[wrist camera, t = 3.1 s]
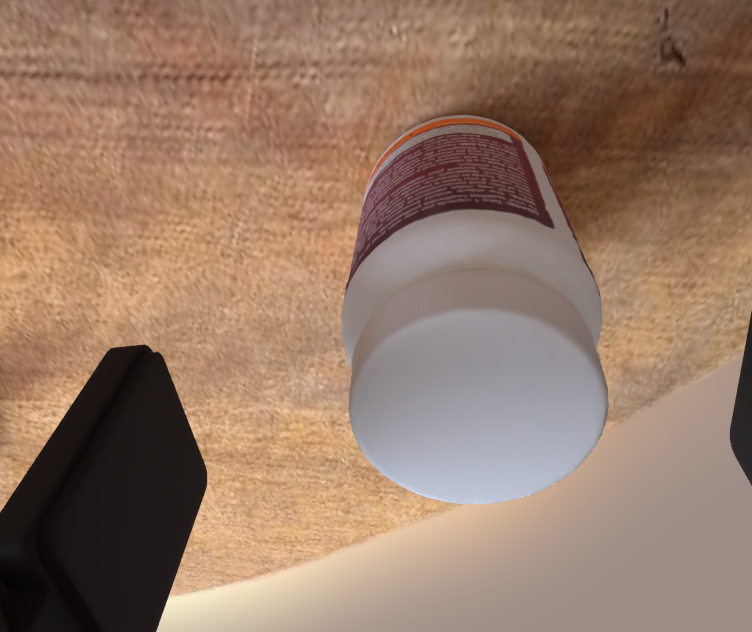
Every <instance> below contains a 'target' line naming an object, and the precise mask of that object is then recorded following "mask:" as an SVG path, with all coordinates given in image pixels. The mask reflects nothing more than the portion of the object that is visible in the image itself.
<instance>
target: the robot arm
mask: <svg viewBox="0 0 752 632" xmlns="http://www.w3.org/2000/svg"><path fill="white" fill-rule="evenodd" d="M730 442H731V446H732V450H733V452H734V454H735V456H736V458H737V460H738V462H739V464H740V465H741V467H742V469H743V471H744V472H745V474H746V476H747V477H748V480H749V481H750V483H751V485H752V312H751V318H750V323H749V329H748V334H747V340H746V345H745V351H744V356H743V362H742V367H741V373H740V378H739V384H738V389H737V395H736V400H735V406H734V411H733V416H732V422H731V427H730ZM206 487H207V470H206V466H205V464H204V461H203V458H202V456H201V453H200V451H199V448H198V446H197V443H196V440H195V438H194V435H193V433H192V430H191V428H190V425H189V422H188V420H187V417H186V415H185V412H184V410H183V407H182V404H181V402H180V399H179V397H178V394H177V391H176V389H175V386H174V384H173V381H172V379H171V376H170V373H169V371H168V368H167V366H166V363H165V361H164V358H163V357H162V355H161V354H160V353H158V352H154V353H153V351H152V350H151V349H150V348H149V346H146V345H137V346H126V347H115V348H111V349H110V350H109V351H108V352H107V353H106V354H105V356H104V357H103V359H102V360H101V362H100V363H99V365H98V366H97V368H96V369H95V371H94V372H93V374H92V375H91V377H90V378H89V380H88V381H87V383H86V384H85V386H84V387H83V389H82V390H81V392H80V393H79V395H78V396H77V398H76V400H75V401H74V403H73V404H72V406H71V407H70V409H69V410H68V412H67V413H66V415H65V416H64V418H63V419H62V421H61V422H60V424H59V425H58V427H57V428H56V430H55V431H54V433H53V434H52V436H51V437H50V439H49V440H48V442H47V443H46V445H45V446H44V448H43V449H42V451H41V452H40V454H39V455H38V457H37V458H36V460H35V461H34V463H33V464H32V466H31V467H30V469H29V470H28V472H27V473H26V475H25V476H24V478H23V479H22V481H21V482H20V484H19V485H18V487H17V488H16V490H15V491H14V493H13V494H12V496H11V497H10V499H9V500H8V502H7V503H6V505H5V506H4V508H3V509H2V511H1V512H0V632H156V630H157V628H158V625H159V622H160V619H161V616H162V613H163V611H164V607H165V605H166V602H167V599H168V596H169V593H170V591H171V588H172V585H173V582H174V579H175V576H176V573H177V570H178V568H179V565H180V562H181V559H182V556H183V553H184V550H185V548H186V545H187V542H188V539H189V536H190V533H191V530H192V528H193V525H194V522H195V519H196V516H197V513H198V510H199V508H200V505H201V502H202V499H203V496H204V493H205V490H206Z"/></svg>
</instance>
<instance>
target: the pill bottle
mask: <svg viewBox="0 0 752 632" xmlns="http://www.w3.org/2000/svg"><path fill="white" fill-rule="evenodd" d="M601 321H602V311H601V298H600V293H599V289H598V287H597V284H596V281H595V278H594V276H593V273H592V271H591V270H590V268H589V266H588V264H587V262H586V260H585V258H584V255H583V253H582V251H581V249H580V246H579V243H578V241H577V238H576V236H575V234H574V231H573V229H572V227H571V225H570V222H569V220H568V218H567V215H566V213H565V210H564V208H563V206H562V204H561V201H560V199H559V197H558V195H557V192H556V190H555V188H554V186H553V184H552V181H551V178H550V175H549V174H548V172H547V170H546V168H545V165H544V163H543V161H542V159H541V158H540V156H539V155H538V153H537V152H536V151H535V149H534V148H533V147H532V146H531V145H530V144H529V143H528V142H527V141H526V140H525V139H524V138H523V136H521V135H520V134H518V133H517V132H516V131H514V130H513V129H512V128H510V127H508V126H506V125H504V124H502V123H499V122H497V121H494V120H491V119H488V118H484V117H479V116H472V115H452V116H444V117H439V118H435V119H432V120H429V121H427V122H424V123H422V124H419V125H417V126H415V127H413V128H412V129H410V130H408V131H407V132H405V133H404V134H403V135H401V136H400V137H399V138H397V139H396V140H395V141H394V142H393V143H392V144H391V145H390V146H389V147H388V148H387V149H386V150H385V152H384V153H383V154H382V155H381V157H380V158H379V160H378V162H377V163H376V165H375V167H374V169H373V171H372V173H371V176H370V178H369V181H368V185H367V188H366V193H365V198H364V202H363V207H362V214H361V219H360V224H359V229H358V234H357V240H356V245H355V250H354V254H353V260H352V265H351V271H350V275H349V280H348V282H347V285H346V292H345V297H344V303H343V311H342V336H343V344H344V348H345V352H346V355H347V358H348V361H349V363H350V366H351V368H352V375H351V384H350V395H349V416H350V422H351V427H352V431H353V433H354V436H355V438H356V441H357V443H358V445H359V447H360V448H361V450H362V452H363V453H364V455H365V456H366V457H367V459H368V460H369V461H370V462H371V463H372V464H373V466H374V467H375V468H376V469H377V470H378V471H380V472H381V473H382V474H383V475H384V476H386V477H387V478H389V479H390V480H392V481H393V482H395V483H397V484H398V485H400V486H402V487H403V488H405V489H408V490H410V491H412V492H414V493H417V494H419V495H422V496H424V497H427V498H432V499H435V500H440V501H445V502H450V503H459V504H489V503H499V502H504V501H508V500H513V499H518V498H522V497H526V496H528V495H531V494H534V493H536V492H539V491H541V490H544V489H546V488H548V487H550V486H551V485H553V484H555V483H557V482H559V481H560V480H562V479H563V478H564V477H566V476H568V475H569V474H571V473H572V472H573V471H574V470H575V469H577V468H578V467H579V465H580V464H581V463H582V462H583V461H584V460H585V459H586V458H587V456H588V455H589V454H590V453H591V451H592V450H593V448H594V447H595V445H596V444H597V442H598V440H599V438H600V437H601V435H602V432H603V429H604V426H605V423H606V418H607V414H608V388H607V384H606V380H605V376H604V373H603V369H602V366H601V363H600V360H599V356H598V353H597V351H596V348H597V344H598V341H599V336H600V330H601Z"/></svg>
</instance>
